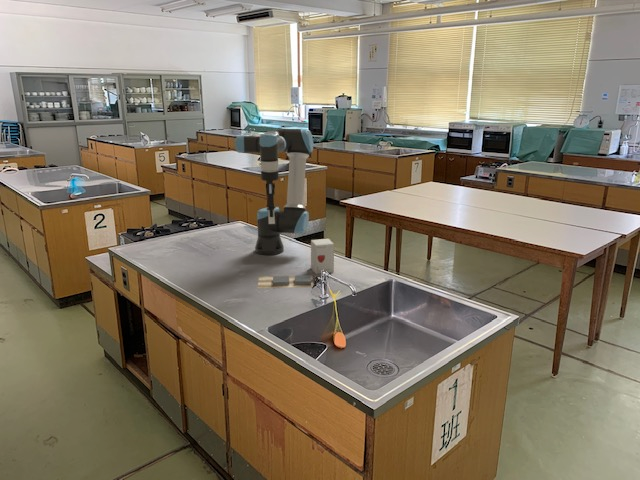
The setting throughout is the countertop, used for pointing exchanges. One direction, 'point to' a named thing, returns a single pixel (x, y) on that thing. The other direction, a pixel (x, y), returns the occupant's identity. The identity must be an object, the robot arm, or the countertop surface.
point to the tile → (280, 280)
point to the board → (268, 283)
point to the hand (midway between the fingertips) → (271, 223)
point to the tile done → (303, 280)
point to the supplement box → (322, 255)
